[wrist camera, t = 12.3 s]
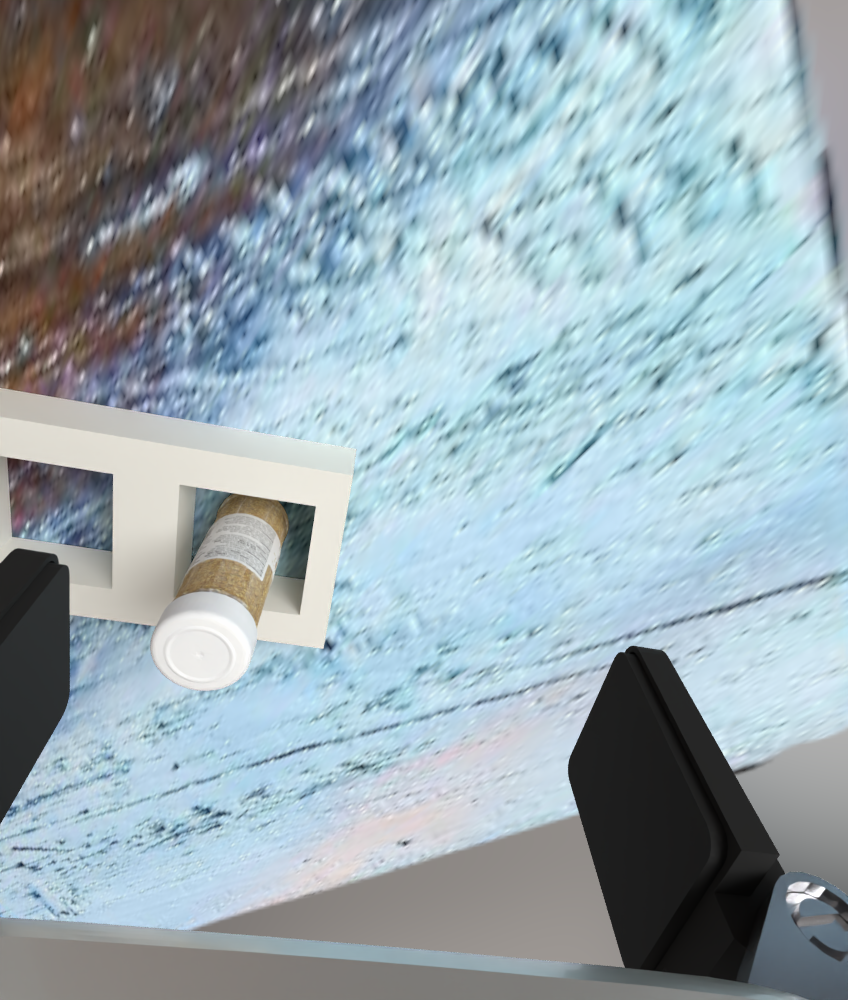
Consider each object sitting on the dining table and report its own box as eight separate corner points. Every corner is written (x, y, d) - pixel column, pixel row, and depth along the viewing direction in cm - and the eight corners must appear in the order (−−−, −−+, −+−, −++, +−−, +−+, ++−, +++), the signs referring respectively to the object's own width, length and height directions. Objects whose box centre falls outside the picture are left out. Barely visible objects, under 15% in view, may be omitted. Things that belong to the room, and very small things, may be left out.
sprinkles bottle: (264, 562, 44) (215, 710, 32) (203, 524, 43) (128, 663, 31) (305, 513, 43) (270, 648, 31) (243, 472, 41) (181, 596, 29)
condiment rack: (-31, 382, 38) (-74, 404, 35) (356, 449, 41) (353, 475, 37) (-15, 563, 43) (-53, 598, 40) (328, 611, 46) (323, 648, 42)
